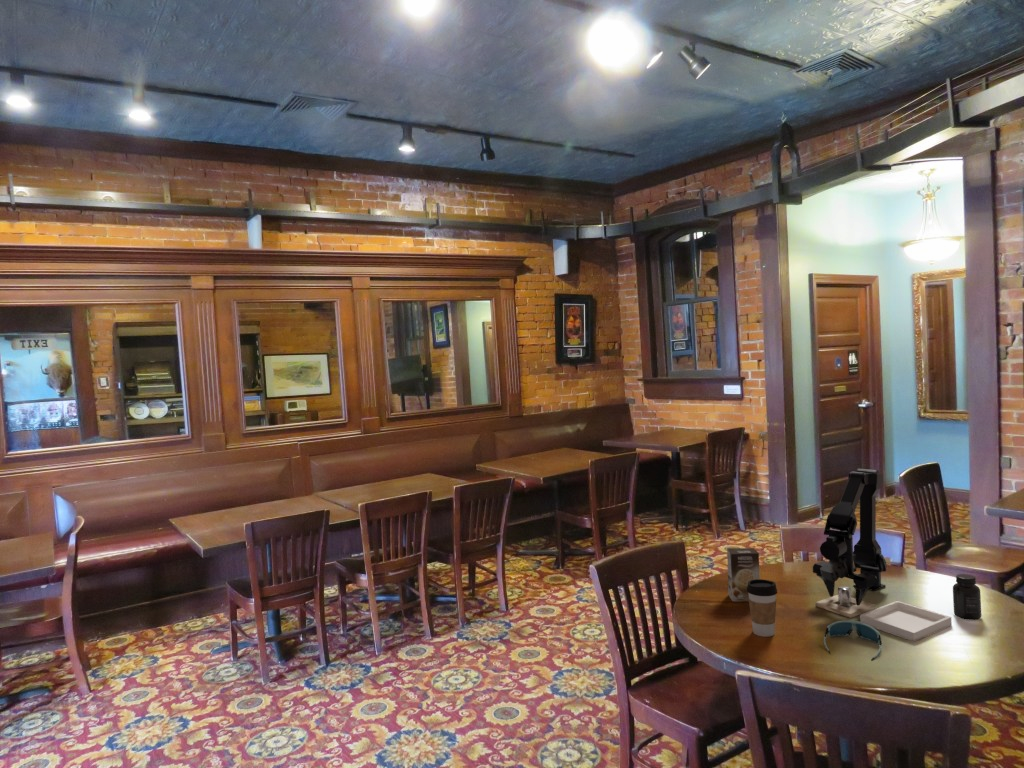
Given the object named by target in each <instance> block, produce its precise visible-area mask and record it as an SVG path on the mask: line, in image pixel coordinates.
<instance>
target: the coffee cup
mask: <svg viewBox="0 0 1024 768" xmlns="http://www.w3.org/2000/svg"><path fill="white" fill-rule="evenodd" d="M747 592H748V593H749V597H748V599H749V601H748V604H749V606H748V607H749V612H750V613H749V614H750V620H751V625H752V632H753V634H754V635H757V636H758V637H762V638H763V637H764V638H765V637H766V638H767V637H772V636H775V631H776V616H777V615H776V613H777V594H778V588H777V583H776V582H774V581H773V580H769V579H763V578H760V579H755V580H750V581H749V582H748V586H747Z"/></svg>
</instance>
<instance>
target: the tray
mask: <svg viewBox="0 0 1024 768" xmlns="http://www.w3.org/2000/svg"><path fill="white" fill-rule="evenodd" d="M859 619H860V620H859V622H862V623H865V624H867V625H869V626H871V627H873V628H874V629H876V630H880V631H883V632H885V633H887V634H888V633H889V634H891V635H894V636H895V637H900V638H902V639H906V640H908V641H911V642H918V641H919V639H920V640H922V639H924V638H927V637H929V636H931V635H933V634H936V633H938V632H940V631H942V630H943V631H944V630H945V629H947V628H950V627H952V622H953V621H952V617H951V616H949V615H945V614H942V613H939V612H936V611H932V610H928V609H926V608H922V607H919V606H915V605H913V604H909V603H906V602H902V601H899V600H896V601H893V602H890V603H888V604H885V605H882V606H880V607H877V608H875V609H873V610H870V611H867V612H865V613H862V614H859Z"/></svg>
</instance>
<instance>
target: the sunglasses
mask: <svg viewBox="0 0 1024 768" xmlns="http://www.w3.org/2000/svg"><path fill="white" fill-rule="evenodd" d="M853 631H855V633H856V635H857V637H858V638H862V639H866V640H868V641H872V642H874V643H876V644H877V645H878V647H879V648H878V651H877V653H876V654H875V656H873V657H872V658H871V661H874V660H875V659H877V658H878V657H879V655H881V652H882V644H883V643H882V637H881V633H880V631H878V629H876V628H873V627H871V626H869V625H867V624H865V623H862V622H860V620H859V621H858V620H853V619H847V620H837V621H834V622H831V623H829V624H828V625H827V626H826V629H825V632H824V637H823V644H824V647H825V649H826V651H827V652H828V654H829V655H831V654H832V653H831V651H830V649H829V648H828V646H827V642H826V641H827V636H828V637H829V638H832V637H834V636H835V637H836V636H838V637H839V636H849V637H850V636H851V635H852V633H853Z"/></svg>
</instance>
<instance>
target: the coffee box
mask: <svg viewBox="0 0 1024 768" xmlns="http://www.w3.org/2000/svg"><path fill="white" fill-rule="evenodd" d="M726 557H727V558H726V560H727V561H726V562H727V589H728V592H727V593H728V597H729V599H730V600H731V601H732V602H749V599H748V597H749V593H748V592H747V586H748V582H749V581H750V580H755V579H761V577H760V553H759V551H757V549H755V547H745V548H741V547H740V548H739V547H735V548H726Z"/></svg>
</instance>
